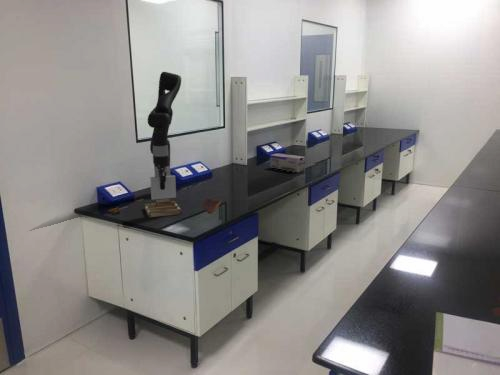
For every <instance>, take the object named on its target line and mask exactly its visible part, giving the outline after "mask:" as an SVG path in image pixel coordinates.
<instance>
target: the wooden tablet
mask: <svg viewBox="0 0 500 375" xmlns="http://www.w3.org/2000/svg"><path fill="white" fill-rule="evenodd" d="M222 202H223V199H222V198H219V199H213V198H206V199H205V200H204V201H203V202H202V203H201V205H200V206H201V207H202V209H204V210H205V211H206V212H207V214H210V215H211V214H213V213H215V212H216V211H217V210H218V207H219V206H220V205H221V203H222Z"/></svg>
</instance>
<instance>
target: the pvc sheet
mask: <svg viewBox="0 0 500 375" xmlns="http://www.w3.org/2000/svg"><path fill="white" fill-rule="evenodd" d="M149 178H150V196H151V197H150V198H151V200H152V201H153V200H165V199H174V198H177V188H176V187H177V184H176V182H177V181H176V175H170V176H166V182H165V189H163V190H161V189H160V178H159V177H155V176H150V177H149Z"/></svg>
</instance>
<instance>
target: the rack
mask: <svg viewBox="0 0 500 375" xmlns="http://www.w3.org/2000/svg"><path fill="white" fill-rule="evenodd" d="M155 204H156V202H154V203H153V202H152V203H145V204H144V210H145V211H146V215H147V216H148V218H156V217H167V216H175V215H182V208H180V206H179V205H178V204H177V202H176V201H175V200H174V201H173V200H172V201H171V205H172V206H166V207H156V208H151V205H155Z"/></svg>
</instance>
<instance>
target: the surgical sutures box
mask: <svg viewBox="0 0 500 375" xmlns="http://www.w3.org/2000/svg"><path fill="white" fill-rule="evenodd" d="M270 167H272V168H278V169H283V170H287V171H286V172H289V171H292V172H291V173H295V172H298V173H301V172H300V171H302V172H304V171H303V170H305V171H306V156H300V155H296V154H295V155H294V154H287V153H280V152H278V153H273V154H270V156H269V168H270ZM283 170H282V171H283Z"/></svg>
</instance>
